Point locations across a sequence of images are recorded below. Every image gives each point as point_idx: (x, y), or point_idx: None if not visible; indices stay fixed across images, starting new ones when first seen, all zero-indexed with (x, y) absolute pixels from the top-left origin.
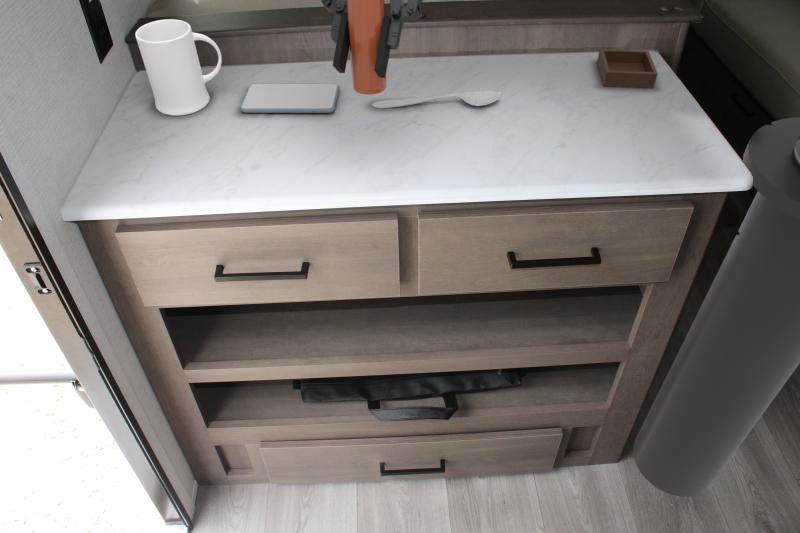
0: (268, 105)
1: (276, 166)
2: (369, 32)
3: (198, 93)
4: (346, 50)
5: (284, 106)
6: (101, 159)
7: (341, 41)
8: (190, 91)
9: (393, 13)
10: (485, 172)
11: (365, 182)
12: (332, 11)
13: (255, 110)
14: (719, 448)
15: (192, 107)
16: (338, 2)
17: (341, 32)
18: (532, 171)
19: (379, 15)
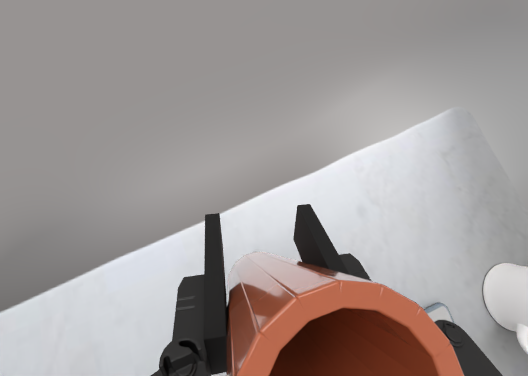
0: None
1: (343, 220)
2: (253, 268)
3: (505, 297)
4: (308, 261)
5: None
6: (494, 170)
7: (318, 241)
8: (513, 288)
9: (183, 340)
10: (101, 305)
11: (240, 228)
12: None
13: (428, 309)
14: None
15: (491, 281)
16: None
17: (332, 259)
18: (33, 334)
19: (232, 310)
